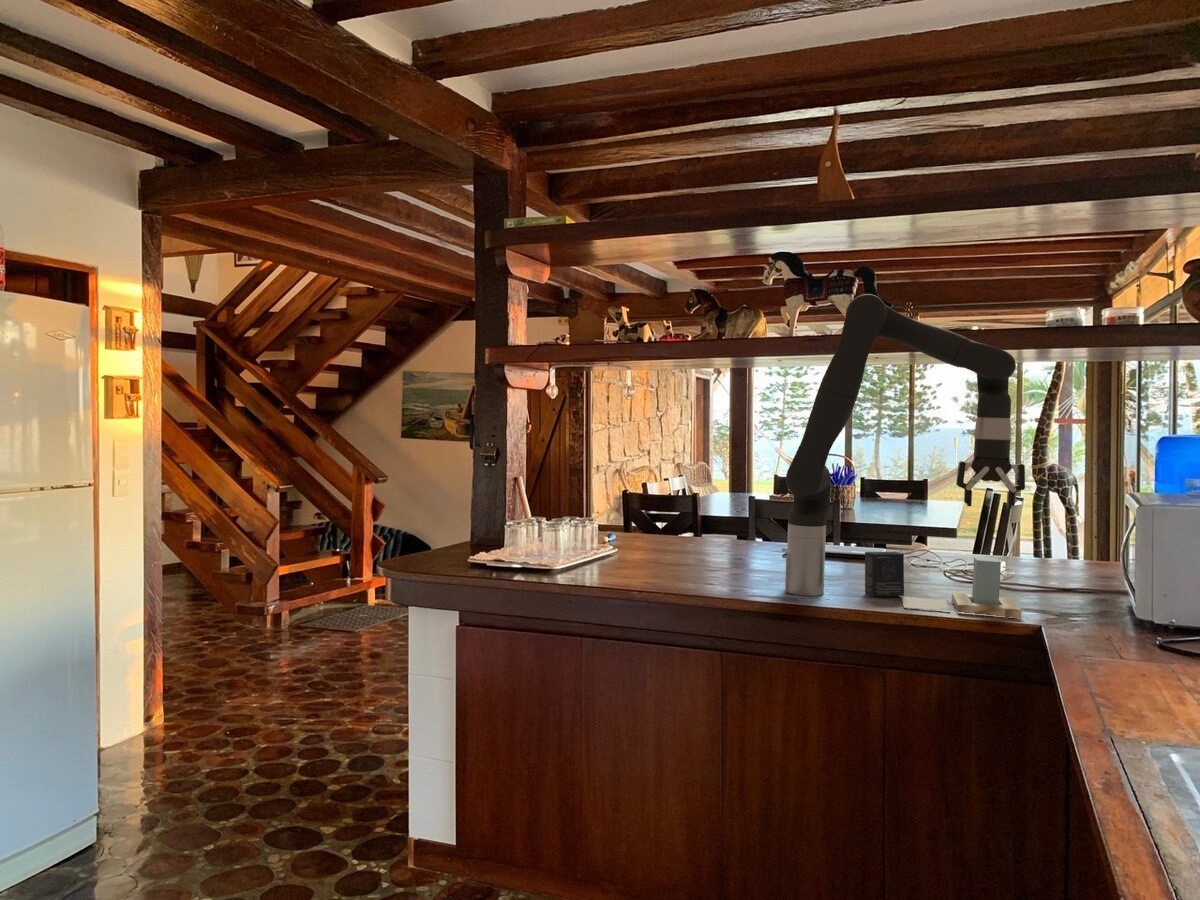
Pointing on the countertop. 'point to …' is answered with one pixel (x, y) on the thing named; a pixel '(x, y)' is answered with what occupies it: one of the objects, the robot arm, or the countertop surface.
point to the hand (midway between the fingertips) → (989, 507)
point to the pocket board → (986, 606)
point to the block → (986, 580)
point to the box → (884, 573)
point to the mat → (923, 603)
